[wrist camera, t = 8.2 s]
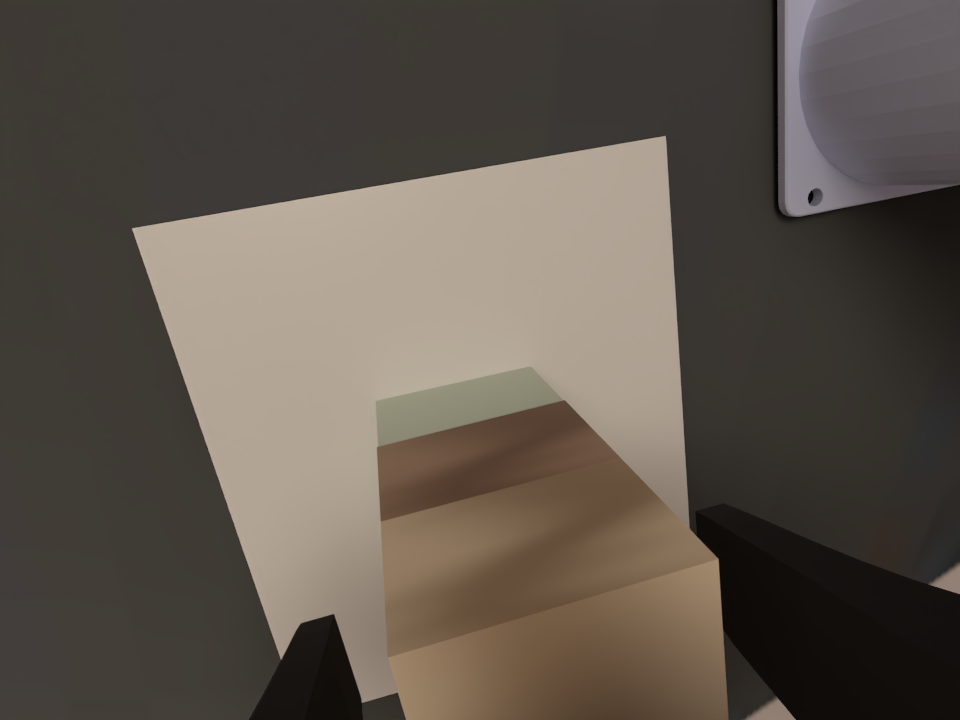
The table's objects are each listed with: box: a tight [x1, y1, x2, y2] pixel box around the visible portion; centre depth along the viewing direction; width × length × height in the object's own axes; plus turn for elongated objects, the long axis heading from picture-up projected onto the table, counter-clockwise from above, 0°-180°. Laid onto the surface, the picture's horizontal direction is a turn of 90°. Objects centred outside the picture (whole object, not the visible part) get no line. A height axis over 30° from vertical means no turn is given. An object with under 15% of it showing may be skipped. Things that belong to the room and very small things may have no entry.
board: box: [132, 136, 690, 703], centre depth 16 cm, size 14×16×4 cm
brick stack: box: [377, 400, 729, 720], centre depth 11 cm, size 5×5×6 cm
